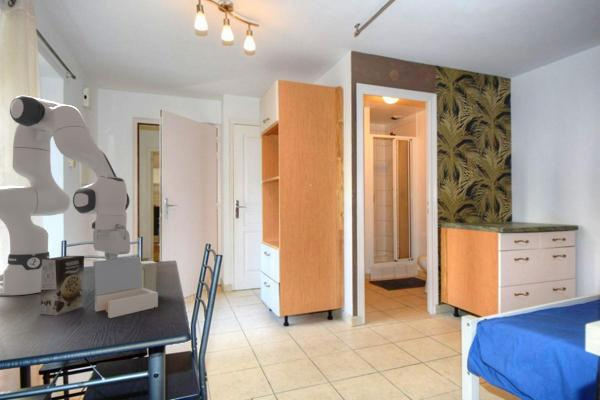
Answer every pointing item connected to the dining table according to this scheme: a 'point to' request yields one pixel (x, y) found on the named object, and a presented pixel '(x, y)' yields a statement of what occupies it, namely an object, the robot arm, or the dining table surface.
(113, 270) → the lid
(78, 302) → the coffee box
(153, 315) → the dining table surface
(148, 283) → the skincare box
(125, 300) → the open tray
